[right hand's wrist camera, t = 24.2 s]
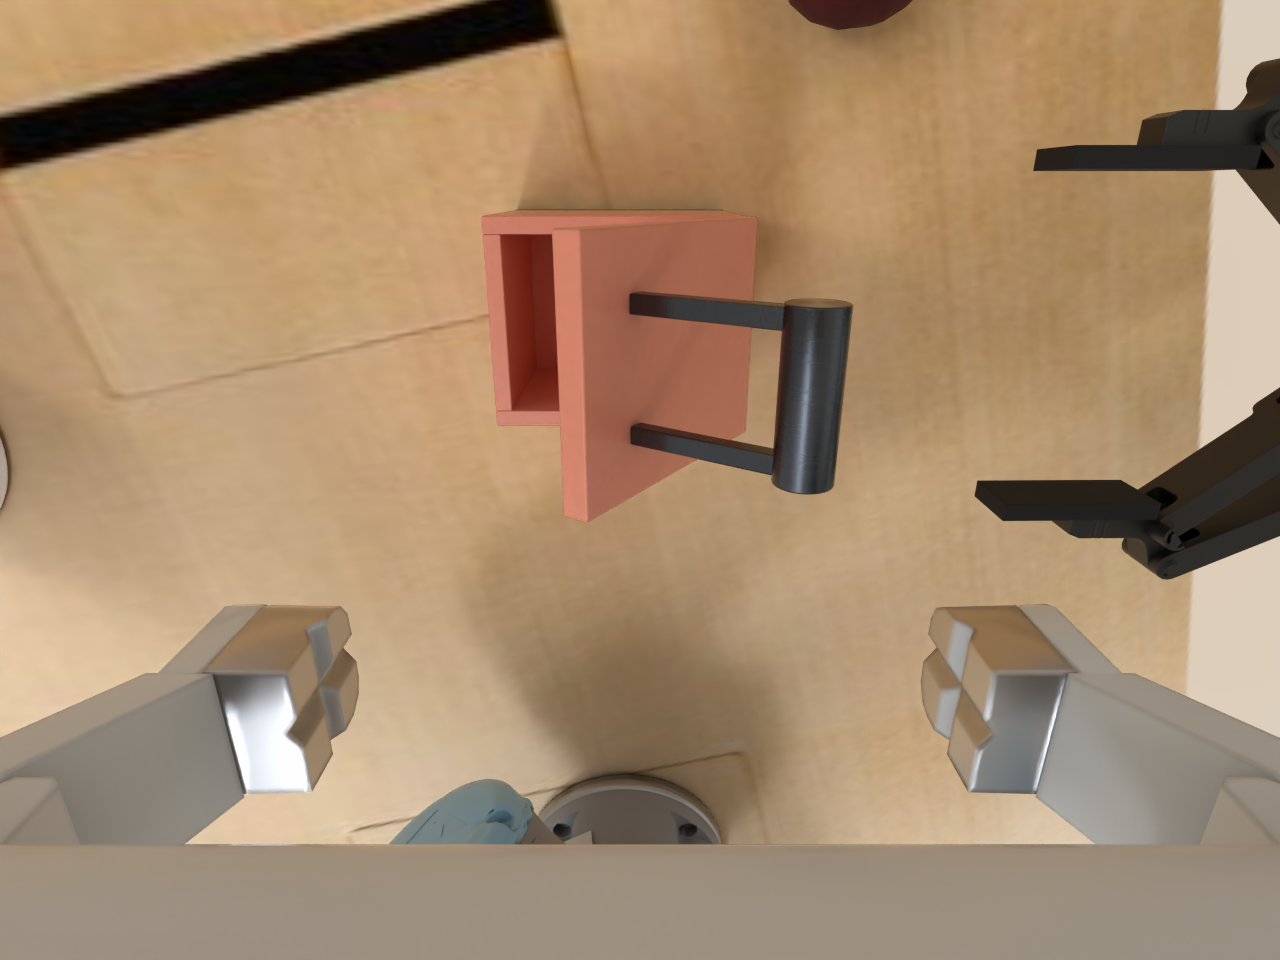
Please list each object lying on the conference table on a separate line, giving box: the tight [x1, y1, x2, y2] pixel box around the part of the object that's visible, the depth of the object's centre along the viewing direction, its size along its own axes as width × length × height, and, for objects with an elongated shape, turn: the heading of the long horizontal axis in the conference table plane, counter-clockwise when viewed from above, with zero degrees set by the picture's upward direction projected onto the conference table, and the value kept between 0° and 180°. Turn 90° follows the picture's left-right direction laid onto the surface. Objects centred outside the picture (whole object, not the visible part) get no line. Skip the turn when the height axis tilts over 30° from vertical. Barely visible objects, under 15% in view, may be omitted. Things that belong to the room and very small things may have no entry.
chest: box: [482, 210, 744, 426], centre depth 38 cm, size 11×10×10 cm
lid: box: [552, 216, 853, 522], centre depth 26 cm, size 12×10×8 cm
